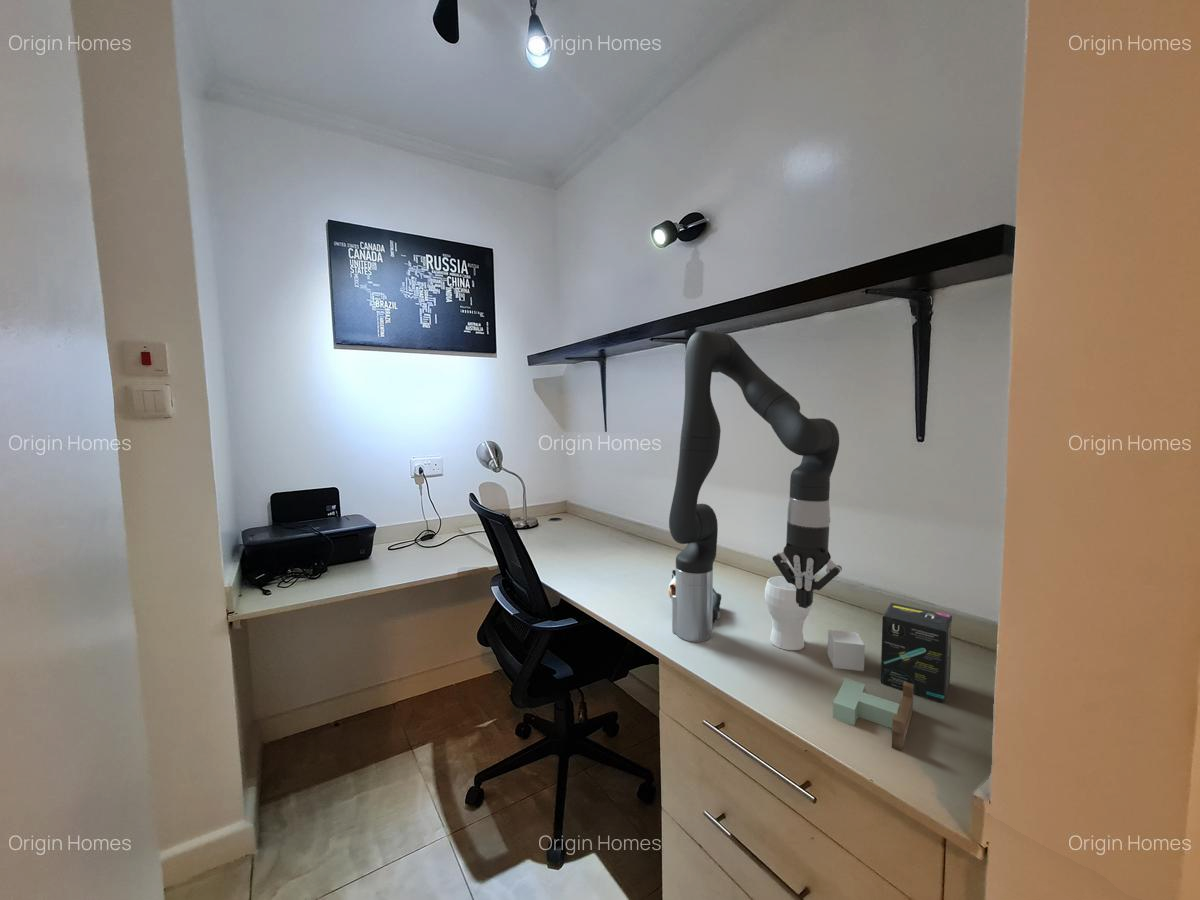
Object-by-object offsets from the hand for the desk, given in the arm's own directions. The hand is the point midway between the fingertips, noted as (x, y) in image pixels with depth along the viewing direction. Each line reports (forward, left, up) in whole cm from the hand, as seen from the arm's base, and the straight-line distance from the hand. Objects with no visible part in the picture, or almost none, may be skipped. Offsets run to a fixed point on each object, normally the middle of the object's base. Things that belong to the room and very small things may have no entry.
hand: (804, 606), depth 92 cm
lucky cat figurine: (-34, +19, -18) cm, 43 cm away
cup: (-9, +18, -18) cm, 27 cm away
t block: (+12, 0, -18) cm, 21 cm away
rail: (+17, 0, -18) cm, 25 cm away
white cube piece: (+4, +17, -18) cm, 25 cm away
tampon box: (+17, +17, -18) cm, 30 cm away
